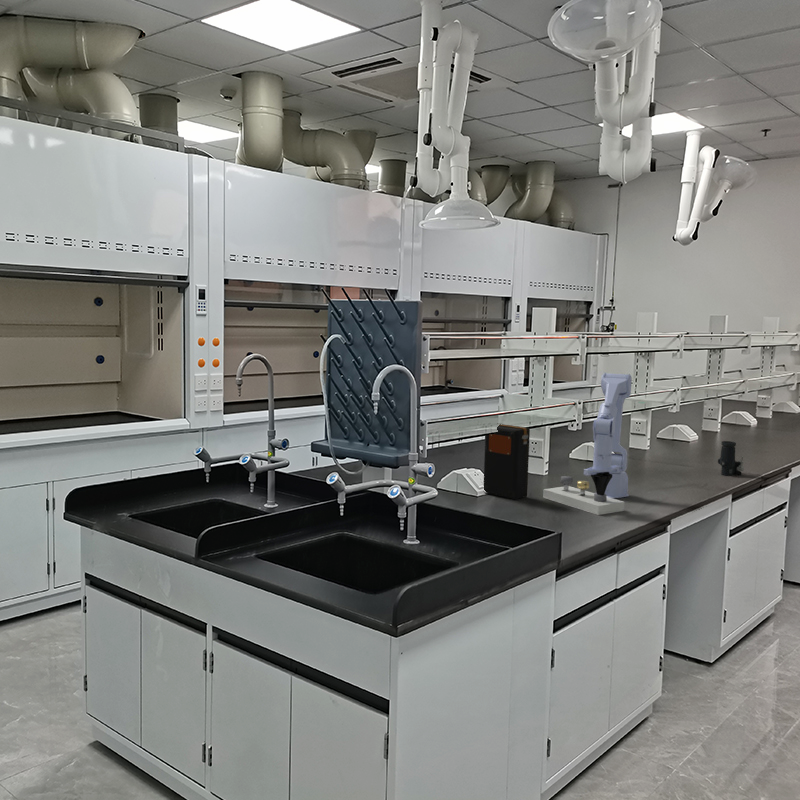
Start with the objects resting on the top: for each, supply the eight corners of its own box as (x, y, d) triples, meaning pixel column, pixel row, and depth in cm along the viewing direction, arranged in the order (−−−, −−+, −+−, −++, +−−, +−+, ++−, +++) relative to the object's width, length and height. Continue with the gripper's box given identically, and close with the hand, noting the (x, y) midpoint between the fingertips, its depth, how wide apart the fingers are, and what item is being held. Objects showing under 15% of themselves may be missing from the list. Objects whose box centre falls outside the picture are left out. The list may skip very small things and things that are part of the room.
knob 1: (566, 489, 261) (566, 475, 260) (574, 491, 257) (574, 477, 257) (557, 490, 259) (558, 476, 258) (565, 492, 255) (566, 479, 255)
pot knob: (582, 494, 254) (583, 480, 253) (591, 496, 251) (591, 482, 250) (574, 495, 252) (574, 481, 251) (582, 497, 249) (583, 483, 248)
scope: (746, 442, 305) (733, 444, 299) (743, 475, 306) (731, 478, 300) (727, 439, 311) (714, 441, 305) (724, 471, 313) (712, 474, 306)
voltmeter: (529, 497, 260) (532, 427, 257) (515, 501, 253) (518, 429, 251) (494, 489, 270) (496, 422, 268) (479, 493, 264) (482, 424, 262)
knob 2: (599, 507, 248) (600, 492, 247) (608, 509, 244) (609, 495, 244) (590, 508, 245) (591, 493, 245) (599, 511, 242) (600, 496, 242)
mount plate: (568, 494, 266) (568, 485, 265) (623, 510, 244) (624, 501, 243) (543, 497, 260) (543, 489, 259) (598, 515, 237) (598, 505, 237)
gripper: (595, 458, 236) (593, 499, 237) (627, 454, 243) (625, 495, 245) (579, 454, 242) (577, 495, 243) (610, 451, 249) (608, 490, 251)
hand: (600, 494), depth 244 cm, fingers closed, pressing on knob 2
